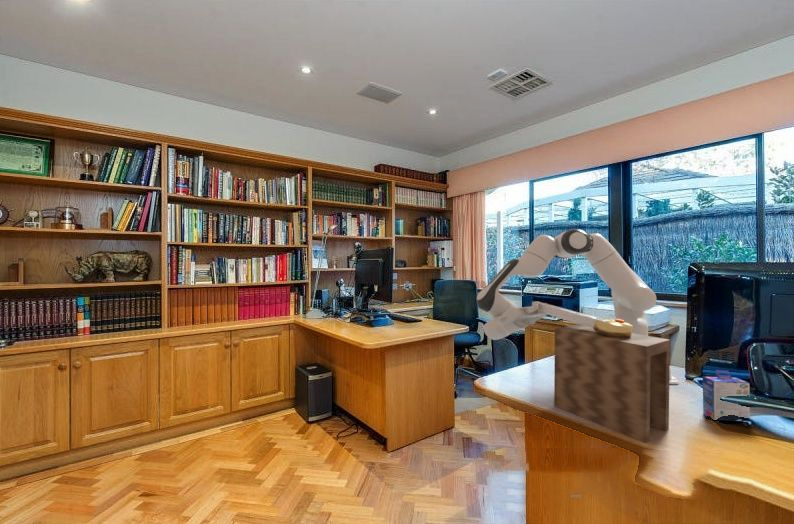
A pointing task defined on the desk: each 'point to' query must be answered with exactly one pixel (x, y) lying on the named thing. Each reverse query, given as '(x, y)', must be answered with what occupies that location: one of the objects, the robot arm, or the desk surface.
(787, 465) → the desk surface
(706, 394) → the ink cartridge box
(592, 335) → the chevron wooden end table
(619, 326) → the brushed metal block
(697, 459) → the desk surface
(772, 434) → the desk surface
